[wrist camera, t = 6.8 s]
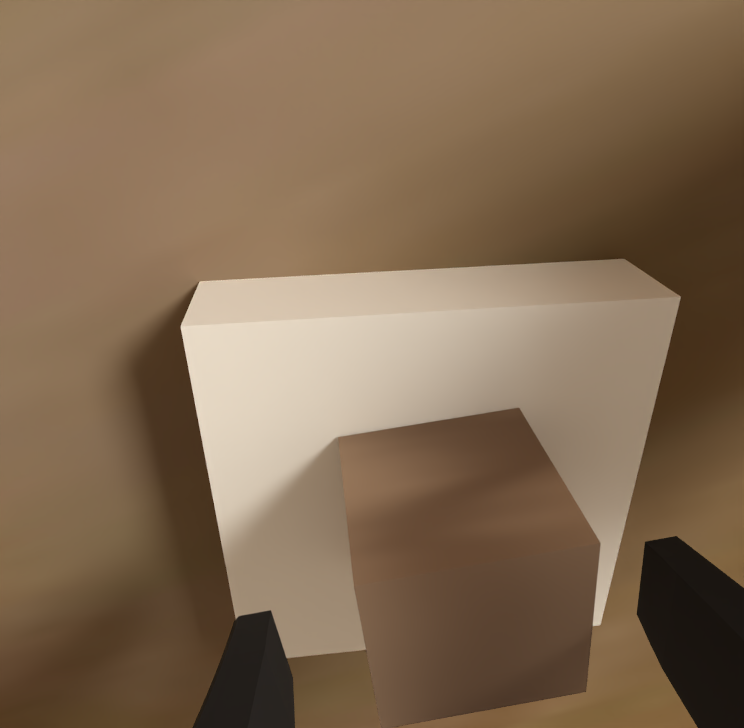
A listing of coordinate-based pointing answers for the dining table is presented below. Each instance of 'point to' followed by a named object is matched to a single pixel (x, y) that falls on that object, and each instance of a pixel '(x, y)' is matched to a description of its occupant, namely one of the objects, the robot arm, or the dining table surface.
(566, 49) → the dining table surface
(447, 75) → the dining table surface
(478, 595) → the walnut cube
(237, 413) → the cream block
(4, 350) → the dining table surface
